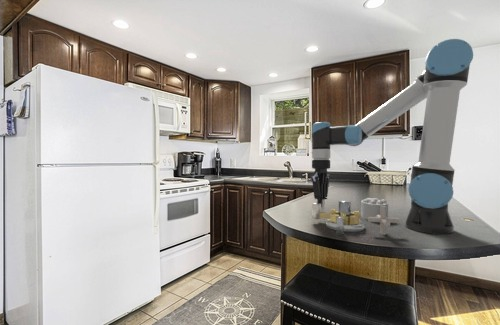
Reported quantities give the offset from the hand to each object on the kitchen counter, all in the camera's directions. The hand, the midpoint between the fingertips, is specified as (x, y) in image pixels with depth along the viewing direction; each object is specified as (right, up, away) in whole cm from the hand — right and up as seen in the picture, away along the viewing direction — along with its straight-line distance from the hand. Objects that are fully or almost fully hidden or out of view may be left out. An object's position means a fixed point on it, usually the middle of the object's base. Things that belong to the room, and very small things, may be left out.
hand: (320, 214), depth 109 cm
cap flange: (+7, -3, -8) cm, 11 cm away
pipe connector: (+17, -4, -18) cm, 25 cm away
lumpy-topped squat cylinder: (+26, -3, +7) cm, 27 cm away
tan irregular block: (+4, -1, -7) cm, 8 cm away
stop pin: (+2, -3, -18) cm, 18 cm away
